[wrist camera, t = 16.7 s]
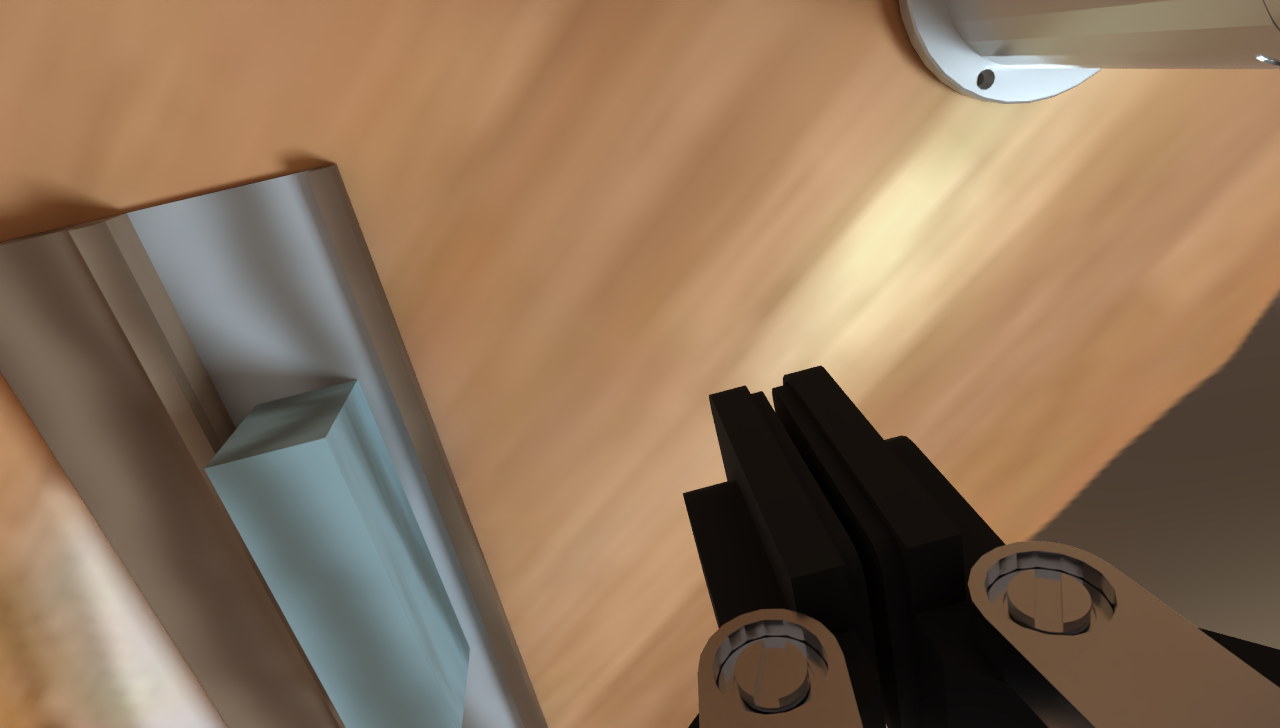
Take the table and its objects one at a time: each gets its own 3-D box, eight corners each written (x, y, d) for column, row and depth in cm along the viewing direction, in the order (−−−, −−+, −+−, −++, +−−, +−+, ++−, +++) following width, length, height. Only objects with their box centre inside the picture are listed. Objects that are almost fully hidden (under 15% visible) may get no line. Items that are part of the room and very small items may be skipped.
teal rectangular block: (357, 379, 35) (325, 437, 29) (470, 648, 42) (460, 736, 37) (256, 404, 35) (204, 468, 29) (386, 671, 42) (364, 762, 36)
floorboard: (336, 163, 31) (318, 172, 29) (556, 748, 47) (557, 788, 44) (-34, 250, 31) (-86, 266, 28) (313, 815, 46) (300, 859, 43)
